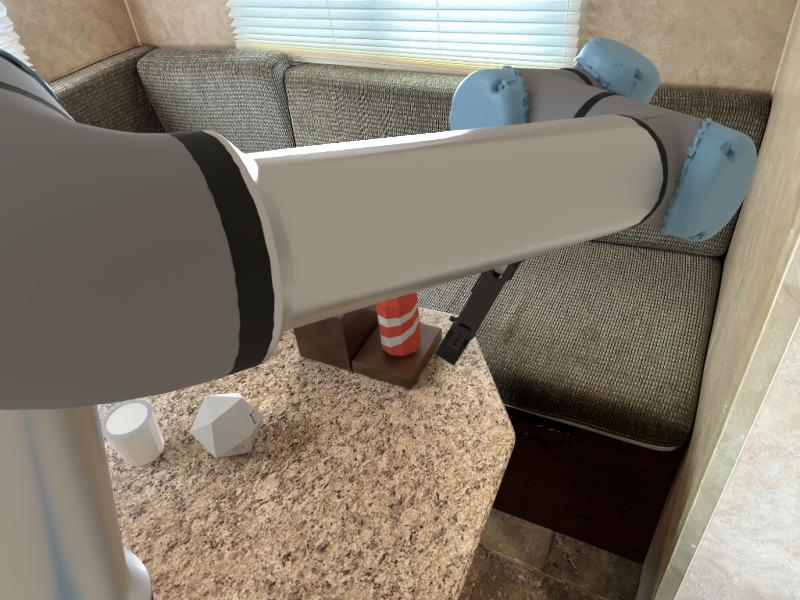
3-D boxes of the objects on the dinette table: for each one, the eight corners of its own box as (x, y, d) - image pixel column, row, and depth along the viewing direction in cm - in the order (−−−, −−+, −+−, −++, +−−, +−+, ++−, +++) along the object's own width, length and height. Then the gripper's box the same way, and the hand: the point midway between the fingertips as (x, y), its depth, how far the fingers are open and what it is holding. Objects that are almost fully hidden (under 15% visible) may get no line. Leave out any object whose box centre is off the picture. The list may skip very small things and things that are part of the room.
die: (227, 484, 81) (258, 431, 78) (170, 450, 81) (198, 395, 77) (252, 449, 89) (281, 399, 86) (200, 418, 89) (227, 366, 85)
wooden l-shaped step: (300, 356, 98) (286, 304, 91) (337, 311, 106) (327, 260, 100) (411, 390, 91) (406, 336, 84) (442, 338, 99) (439, 286, 92)
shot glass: (149, 475, 83) (130, 443, 78) (108, 464, 85) (88, 432, 80) (178, 435, 88) (162, 403, 83) (139, 426, 90) (122, 394, 85)
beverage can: (375, 340, 96) (366, 280, 89) (411, 326, 98) (405, 267, 90) (390, 364, 92) (383, 303, 84) (428, 349, 94) (424, 288, 86)
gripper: (549, 275, 53) (457, 406, 68) (595, 164, 71) (515, 286, 86) (474, 233, 54) (399, 372, 68) (539, 134, 72) (469, 260, 87)
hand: (463, 325), depth 77 cm, fingers open, 13 cm apart
